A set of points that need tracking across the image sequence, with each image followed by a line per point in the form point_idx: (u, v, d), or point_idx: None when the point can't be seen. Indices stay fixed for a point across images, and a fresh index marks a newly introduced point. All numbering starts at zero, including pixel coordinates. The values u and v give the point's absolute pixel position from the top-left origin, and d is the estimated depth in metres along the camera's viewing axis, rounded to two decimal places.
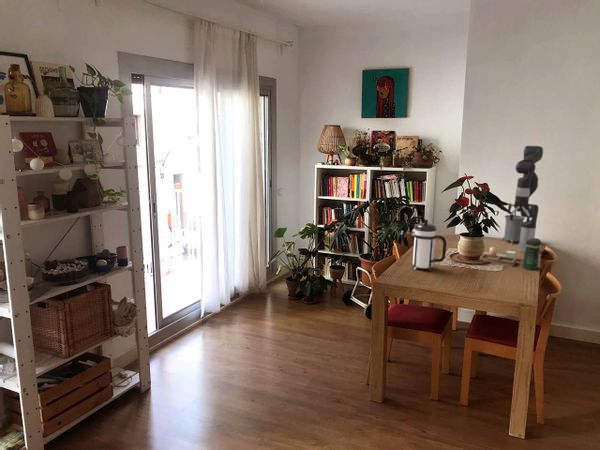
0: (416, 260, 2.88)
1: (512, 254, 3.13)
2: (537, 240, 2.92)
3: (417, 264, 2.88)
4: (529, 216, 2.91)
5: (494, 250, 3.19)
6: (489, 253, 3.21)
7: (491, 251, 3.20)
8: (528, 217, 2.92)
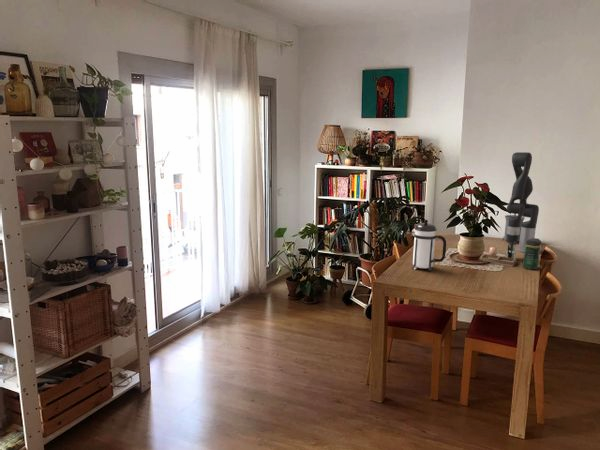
0: (416, 260, 2.88)
1: (512, 254, 3.13)
2: (537, 240, 2.92)
3: (417, 264, 2.88)
4: None
5: (494, 250, 3.19)
6: (489, 253, 3.21)
7: (491, 251, 3.20)
8: None
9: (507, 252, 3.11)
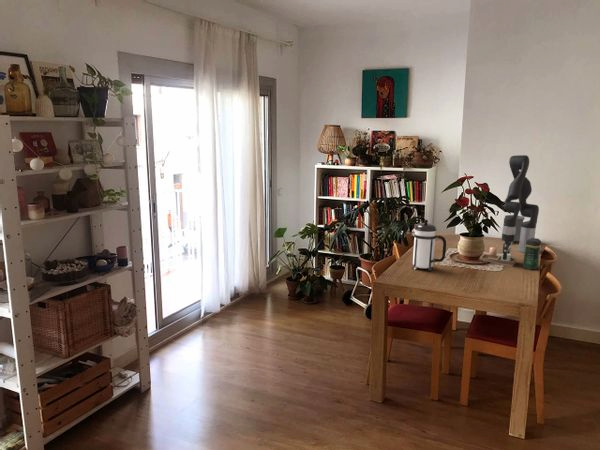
0: (416, 260, 2.88)
1: (507, 256, 3.03)
2: (537, 240, 2.92)
3: (417, 264, 2.88)
4: (509, 250, 3.09)
5: (494, 250, 3.19)
6: (489, 253, 3.21)
7: (491, 251, 3.20)
8: None
9: None
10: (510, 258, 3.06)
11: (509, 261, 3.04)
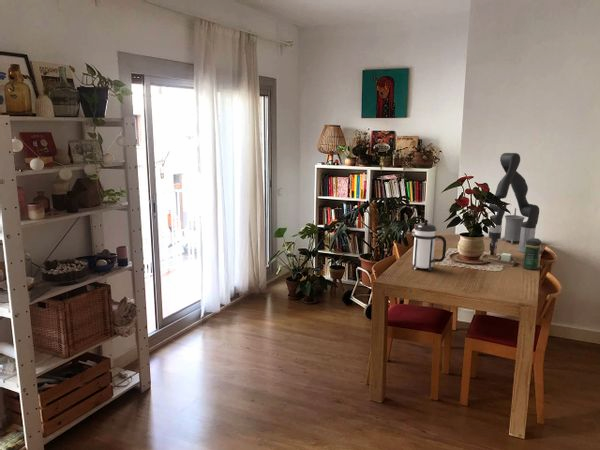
0: (416, 260, 2.88)
1: (507, 256, 3.03)
2: (537, 240, 2.92)
3: (417, 264, 2.88)
4: None
5: (494, 250, 3.19)
6: (489, 253, 3.22)
7: None
8: None
9: None
10: (510, 258, 3.06)
11: (509, 261, 3.04)
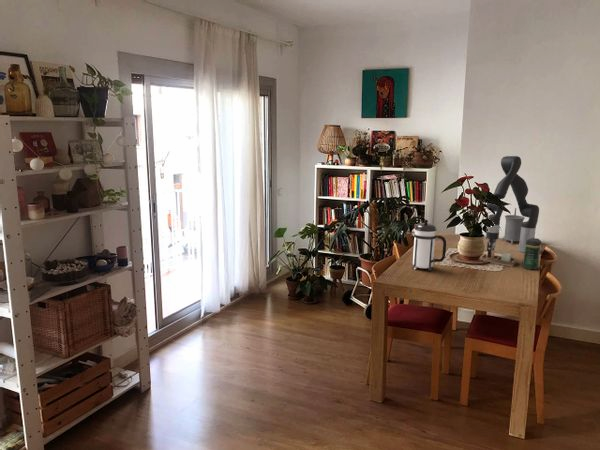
0: (416, 260, 2.88)
1: (507, 256, 3.03)
2: (537, 240, 2.92)
3: (417, 264, 2.88)
4: (493, 249, 3.14)
5: (491, 253, 3.09)
6: (486, 256, 3.11)
7: None
8: None
9: None
10: (510, 258, 3.06)
11: (509, 261, 3.04)
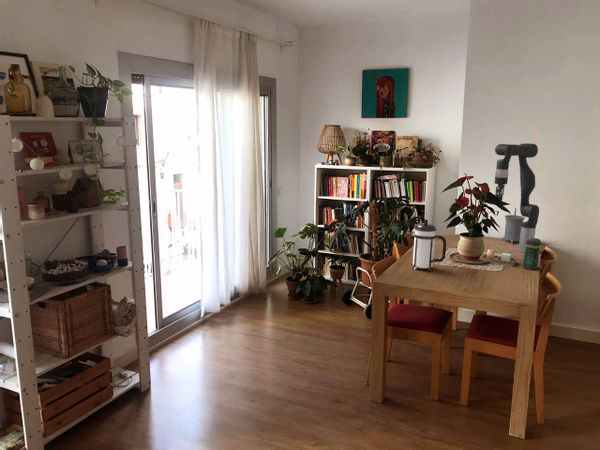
0: (416, 260, 2.88)
1: (507, 256, 3.03)
2: (537, 240, 2.92)
3: (417, 264, 2.88)
4: None
5: (492, 253, 3.09)
6: (487, 256, 3.11)
7: (489, 254, 3.09)
8: None
9: (495, 194, 2.99)
10: (510, 258, 3.06)
11: (509, 261, 3.04)
